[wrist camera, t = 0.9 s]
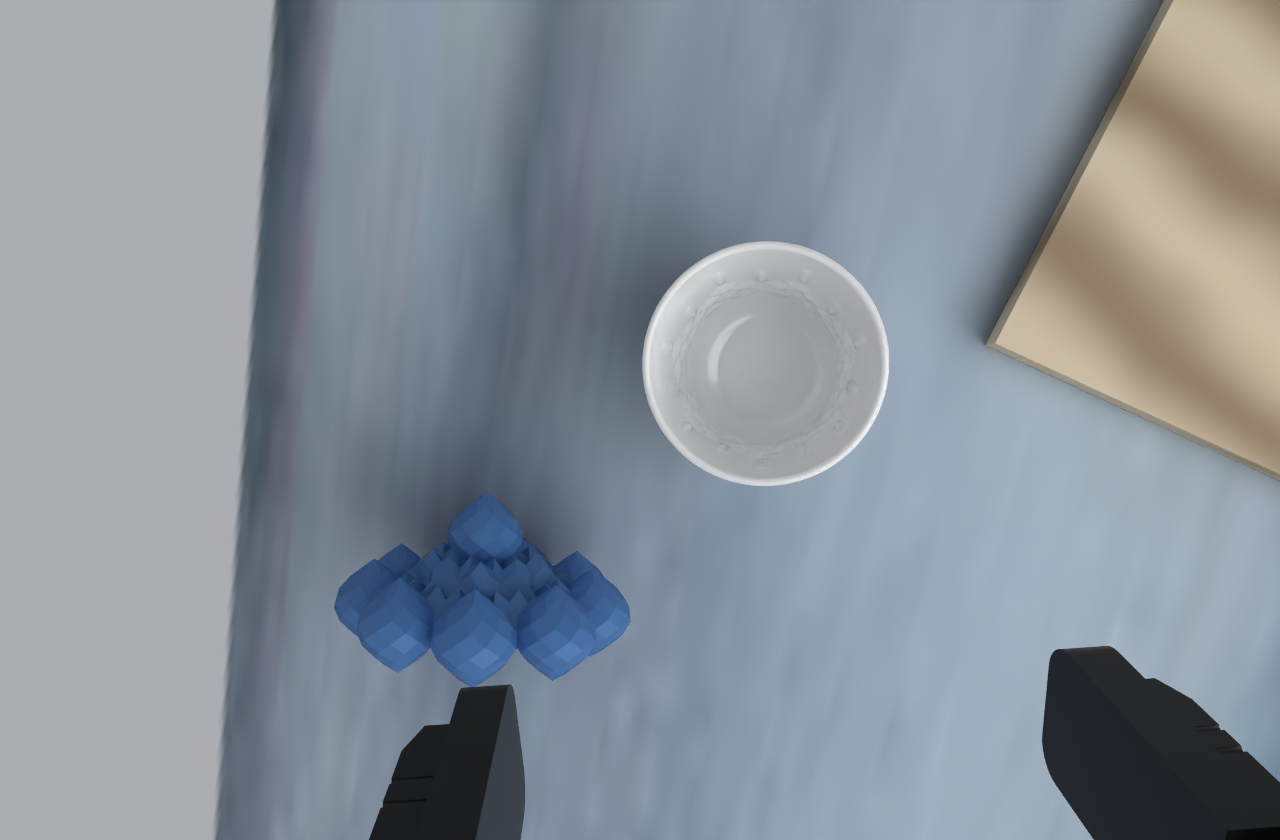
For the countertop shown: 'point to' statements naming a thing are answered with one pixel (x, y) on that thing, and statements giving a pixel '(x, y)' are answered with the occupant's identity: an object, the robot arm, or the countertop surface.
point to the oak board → (1173, 240)
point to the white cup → (765, 363)
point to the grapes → (482, 602)
